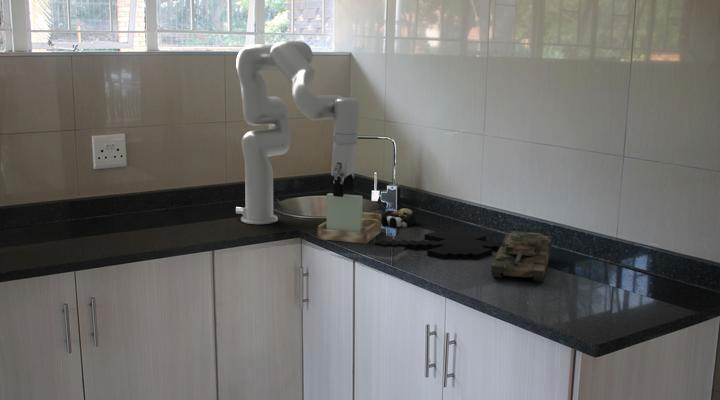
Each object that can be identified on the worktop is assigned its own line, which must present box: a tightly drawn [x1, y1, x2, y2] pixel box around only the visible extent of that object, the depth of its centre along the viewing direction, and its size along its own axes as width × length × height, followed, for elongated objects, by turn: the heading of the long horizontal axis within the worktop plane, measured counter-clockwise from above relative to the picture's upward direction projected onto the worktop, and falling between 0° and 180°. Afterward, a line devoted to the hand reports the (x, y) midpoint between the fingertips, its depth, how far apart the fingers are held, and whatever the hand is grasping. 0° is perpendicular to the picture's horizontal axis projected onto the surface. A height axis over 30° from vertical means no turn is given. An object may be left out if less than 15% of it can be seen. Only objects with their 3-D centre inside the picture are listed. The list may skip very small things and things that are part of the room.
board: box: [326, 192, 364, 233], centre depth 254 cm, size 11×2×14 cm, turn 72°
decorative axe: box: [374, 230, 503, 261], centre depth 251 cm, size 32×2×30 cm
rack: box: [317, 211, 382, 244], centre depth 259 cm, size 16×16×7 cm
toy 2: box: [490, 230, 552, 283], centre depth 224 cm, size 13×37×10 cm, turn 163°
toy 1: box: [381, 207, 417, 229], centre depth 278 cm, size 12×8×15 cm
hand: (343, 193), depth 252 cm, fingers open, 9 cm apart
